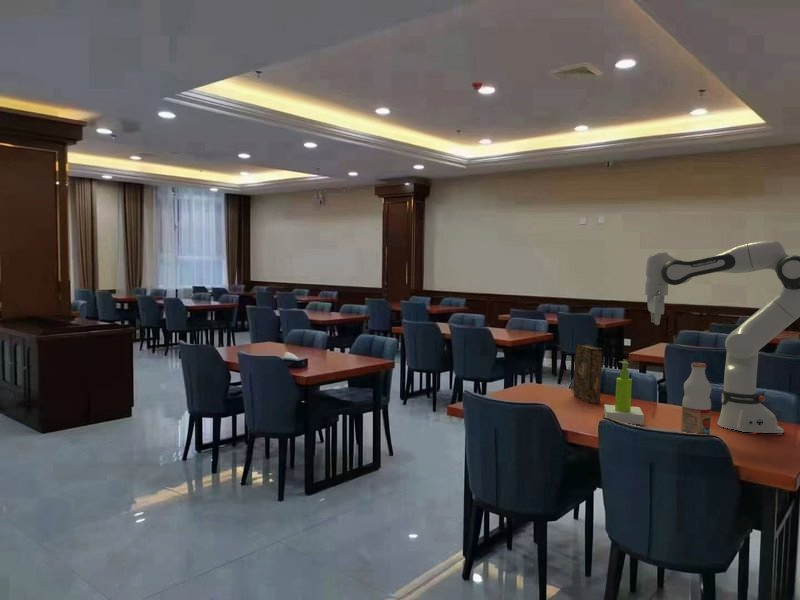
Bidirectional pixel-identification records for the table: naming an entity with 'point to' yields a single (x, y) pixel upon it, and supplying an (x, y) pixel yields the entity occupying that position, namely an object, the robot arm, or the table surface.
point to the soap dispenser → (623, 390)
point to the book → (588, 373)
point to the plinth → (624, 414)
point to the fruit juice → (696, 402)
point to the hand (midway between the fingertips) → (655, 323)
